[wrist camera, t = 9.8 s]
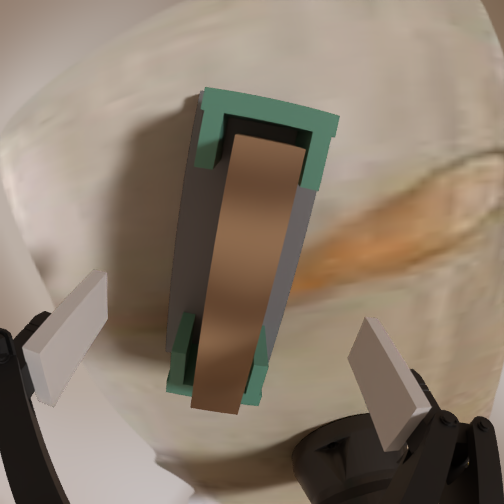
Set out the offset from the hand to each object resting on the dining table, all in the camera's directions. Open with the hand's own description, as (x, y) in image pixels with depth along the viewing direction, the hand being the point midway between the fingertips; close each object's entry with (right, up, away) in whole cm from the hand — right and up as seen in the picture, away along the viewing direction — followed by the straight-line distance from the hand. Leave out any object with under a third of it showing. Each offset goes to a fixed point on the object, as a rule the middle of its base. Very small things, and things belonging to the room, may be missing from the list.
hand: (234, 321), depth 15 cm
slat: (0, +4, +8) cm, 9 cm away
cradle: (0, +4, +9) cm, 10 cm away
